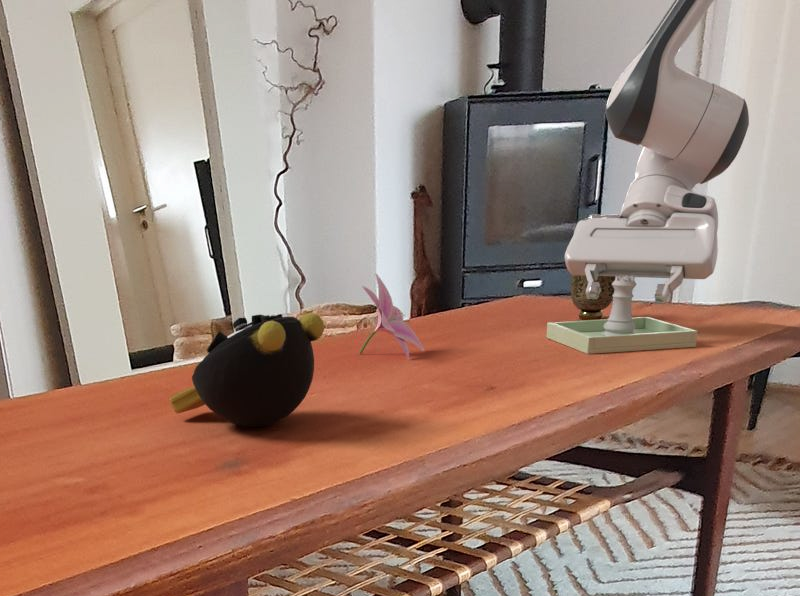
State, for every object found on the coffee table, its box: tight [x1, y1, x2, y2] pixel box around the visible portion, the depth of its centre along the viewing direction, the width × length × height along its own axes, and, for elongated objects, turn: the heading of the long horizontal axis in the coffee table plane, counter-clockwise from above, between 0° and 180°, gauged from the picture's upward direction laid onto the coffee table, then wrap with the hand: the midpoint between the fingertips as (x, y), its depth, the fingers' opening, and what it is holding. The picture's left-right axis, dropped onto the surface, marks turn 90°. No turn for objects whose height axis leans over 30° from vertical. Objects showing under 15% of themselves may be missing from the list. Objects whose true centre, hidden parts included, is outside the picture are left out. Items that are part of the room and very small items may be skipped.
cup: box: [569, 273, 615, 321], centre depth 151 cm, size 8×7×8 cm
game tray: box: [545, 316, 699, 355], centre depth 134 cm, size 16×14×2 cm
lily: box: [359, 273, 425, 360], centre depth 129 cm, size 12×12×10 cm
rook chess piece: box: [602, 276, 637, 336], centre depth 133 cm, size 4×4×8 cm
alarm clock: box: [169, 312, 325, 428], centre depth 96 cm, size 12×15×15 cm
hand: (625, 298), depth 132 cm, fingers open, 8 cm apart
